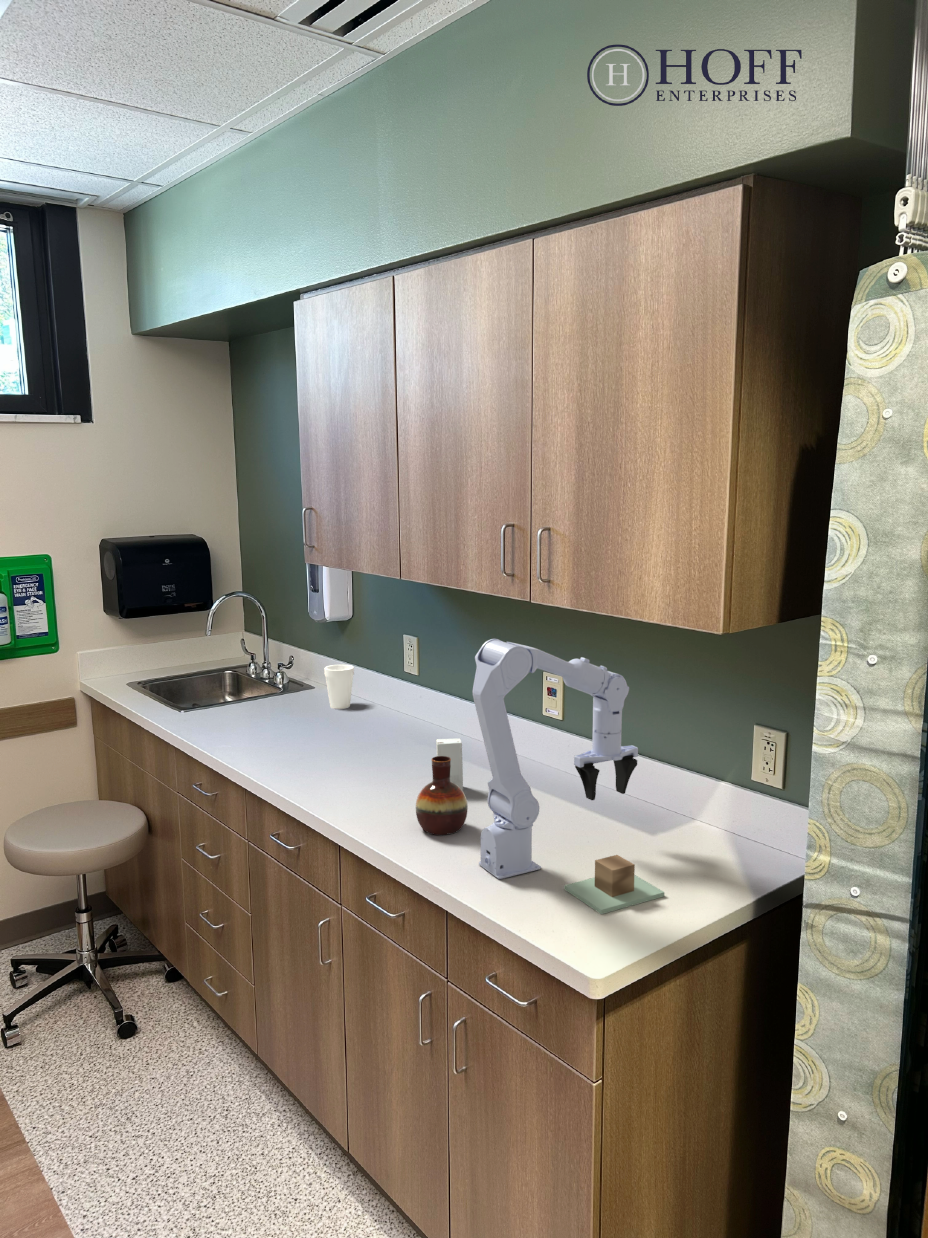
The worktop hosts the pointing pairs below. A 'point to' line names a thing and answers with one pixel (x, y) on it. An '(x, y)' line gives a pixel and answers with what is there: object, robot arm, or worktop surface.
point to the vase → (441, 801)
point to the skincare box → (452, 758)
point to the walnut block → (614, 875)
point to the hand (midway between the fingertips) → (605, 795)
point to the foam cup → (339, 685)
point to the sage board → (607, 903)
